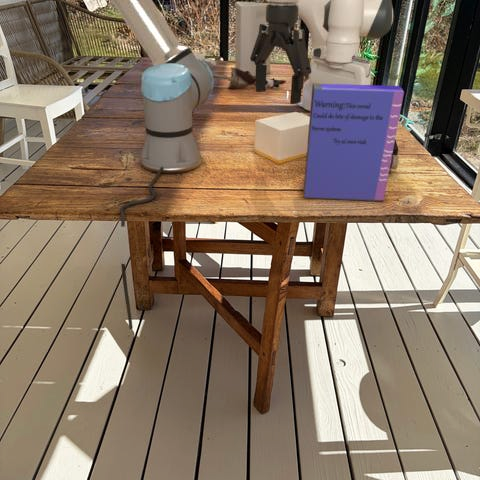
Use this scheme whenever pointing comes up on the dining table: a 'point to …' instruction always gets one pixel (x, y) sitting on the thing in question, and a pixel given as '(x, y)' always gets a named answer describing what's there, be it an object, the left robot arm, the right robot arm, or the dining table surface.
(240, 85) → the figurine
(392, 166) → the figurine character
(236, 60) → the white block
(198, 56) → the toy
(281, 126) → the cabinet
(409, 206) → the dining table surface
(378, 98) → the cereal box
